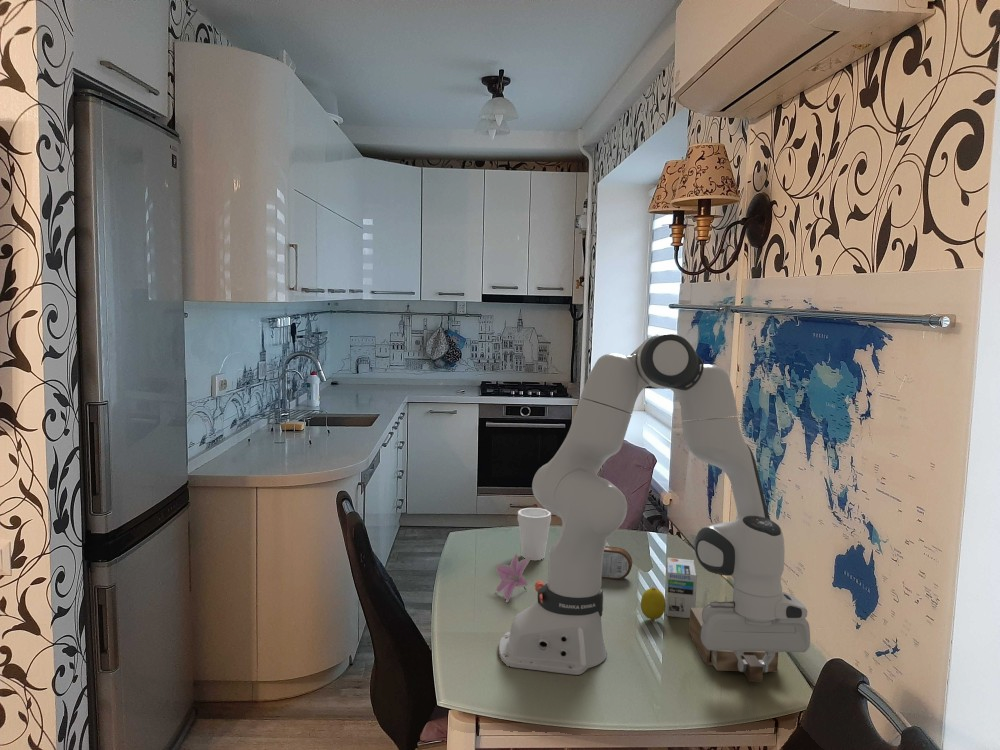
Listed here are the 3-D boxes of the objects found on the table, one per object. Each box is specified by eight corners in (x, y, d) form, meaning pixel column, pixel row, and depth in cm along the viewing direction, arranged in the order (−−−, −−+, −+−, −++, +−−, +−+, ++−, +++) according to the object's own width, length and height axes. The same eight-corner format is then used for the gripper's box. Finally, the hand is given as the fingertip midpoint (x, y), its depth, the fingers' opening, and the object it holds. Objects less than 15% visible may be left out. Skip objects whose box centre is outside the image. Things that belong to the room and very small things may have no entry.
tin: (631, 578, 195) (632, 547, 194) (631, 582, 192) (632, 551, 191) (575, 572, 198) (576, 542, 197) (573, 576, 195) (574, 545, 194)
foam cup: (510, 557, 208) (511, 513, 206) (528, 548, 215) (529, 505, 214) (538, 565, 202) (540, 519, 201) (555, 555, 210) (557, 511, 209)
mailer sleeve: (706, 664, 149) (707, 636, 148) (689, 633, 163) (690, 607, 162) (775, 666, 149) (776, 638, 148) (751, 634, 163) (753, 608, 162)
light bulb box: (695, 619, 170) (697, 575, 169) (665, 616, 171) (667, 572, 170) (692, 601, 181) (695, 559, 179) (665, 598, 182) (666, 556, 181)
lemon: (662, 627, 166) (664, 594, 165) (638, 623, 167) (639, 590, 167) (666, 618, 171) (667, 585, 170) (642, 614, 173) (643, 581, 172)
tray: (724, 683, 140) (725, 663, 140) (699, 639, 158) (700, 622, 158) (786, 685, 140) (788, 665, 140) (755, 641, 158) (756, 623, 158)
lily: (496, 586, 190) (483, 559, 186) (539, 569, 190) (526, 542, 186) (503, 619, 179) (489, 591, 175) (547, 601, 179) (534, 573, 175)
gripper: (707, 608, 137) (703, 677, 139) (816, 610, 137) (811, 680, 139) (698, 594, 144) (694, 661, 145) (802, 596, 144) (798, 663, 145)
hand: (752, 670), depth 142 cm, fingers closed on tray, 2 cm apart
